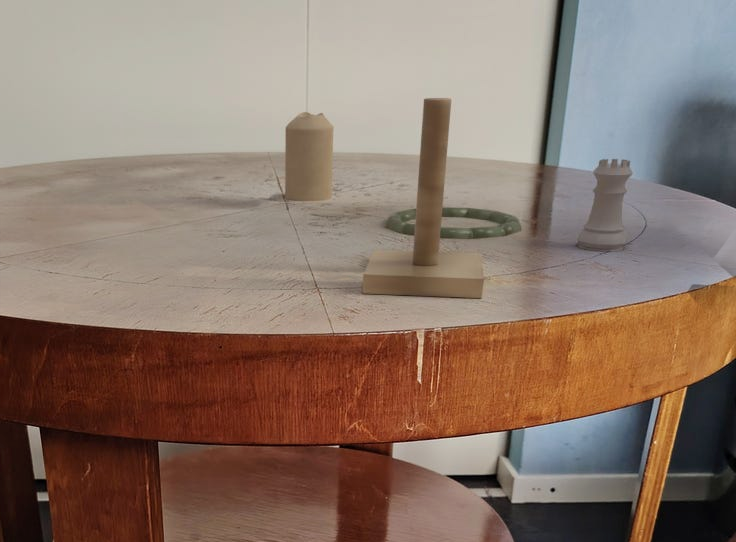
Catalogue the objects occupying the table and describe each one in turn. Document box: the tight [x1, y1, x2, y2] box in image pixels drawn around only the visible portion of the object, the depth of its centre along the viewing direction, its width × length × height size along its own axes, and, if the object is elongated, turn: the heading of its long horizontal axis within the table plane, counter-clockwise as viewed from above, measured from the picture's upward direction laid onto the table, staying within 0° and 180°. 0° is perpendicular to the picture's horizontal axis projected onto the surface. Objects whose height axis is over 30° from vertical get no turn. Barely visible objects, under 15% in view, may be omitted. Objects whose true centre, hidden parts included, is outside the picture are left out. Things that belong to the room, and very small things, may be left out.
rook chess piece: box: [576, 158, 634, 252], centre depth 79 cm, size 4×4×8 cm
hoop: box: [384, 206, 522, 240], centre depth 90 cm, size 13×13×2 cm
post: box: [362, 97, 485, 299], centre depth 69 cm, size 9×9×14 cm
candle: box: [284, 111, 334, 202], centre depth 105 cm, size 6×6×10 cm
